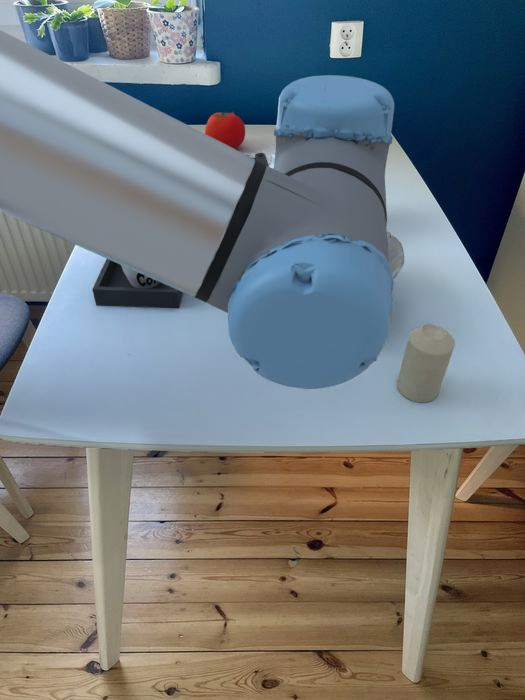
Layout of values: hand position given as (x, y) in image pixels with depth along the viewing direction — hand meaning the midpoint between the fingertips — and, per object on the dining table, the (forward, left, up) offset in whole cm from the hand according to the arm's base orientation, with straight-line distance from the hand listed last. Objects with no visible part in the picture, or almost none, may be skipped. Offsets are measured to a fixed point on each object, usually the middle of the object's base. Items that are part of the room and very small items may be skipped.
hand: (155, 158), depth 63 cm
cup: (-7, +12, -26) cm, 29 cm away
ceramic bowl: (+22, +8, -26) cm, 35 cm away
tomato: (+1, +70, -26) cm, 74 cm away
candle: (+34, -10, -26) cm, 44 cm away
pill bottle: (+15, +45, -26) cm, 54 cm away
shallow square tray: (-7, +12, -26) cm, 29 cm away
